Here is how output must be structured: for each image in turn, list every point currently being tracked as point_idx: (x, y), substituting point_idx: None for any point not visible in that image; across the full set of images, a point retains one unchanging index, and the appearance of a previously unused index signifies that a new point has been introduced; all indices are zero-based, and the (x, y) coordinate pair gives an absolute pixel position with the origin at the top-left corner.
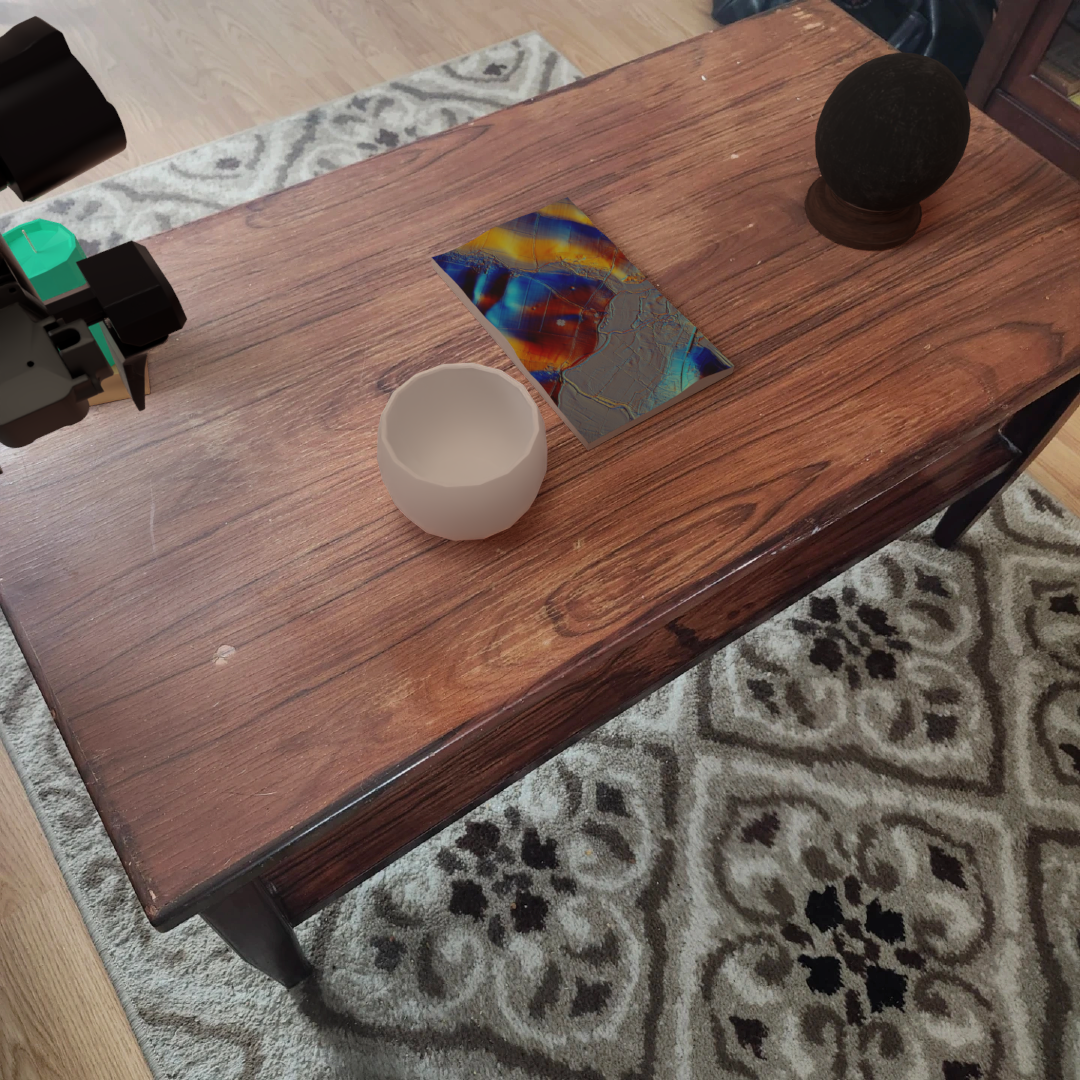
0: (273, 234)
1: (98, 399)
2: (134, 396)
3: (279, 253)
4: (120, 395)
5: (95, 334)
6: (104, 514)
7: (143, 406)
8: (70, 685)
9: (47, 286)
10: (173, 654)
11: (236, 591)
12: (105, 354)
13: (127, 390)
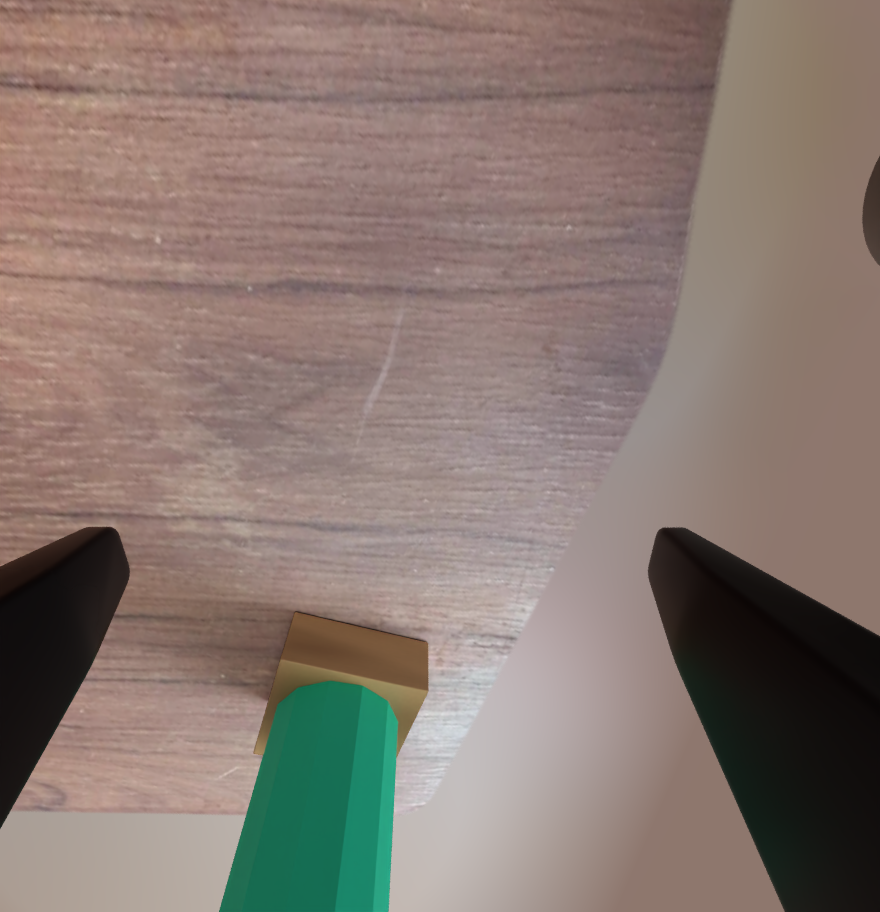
0: None
1: (372, 638)
2: (19, 582)
3: None
4: (337, 629)
5: (299, 757)
6: (451, 438)
7: (72, 535)
8: (681, 88)
9: None
10: (468, 11)
11: (281, 95)
12: (312, 708)
13: (65, 624)
